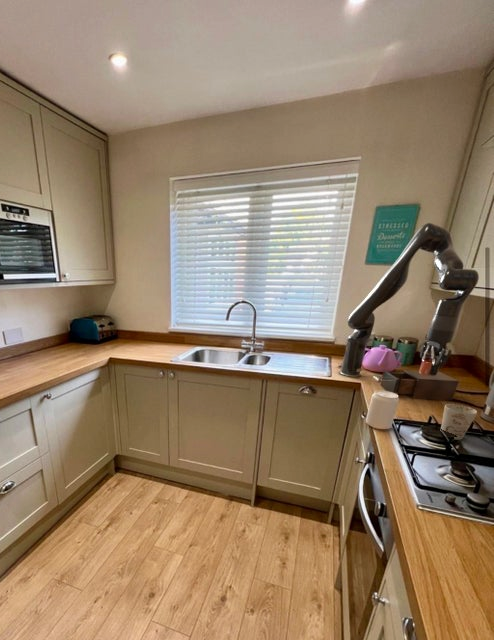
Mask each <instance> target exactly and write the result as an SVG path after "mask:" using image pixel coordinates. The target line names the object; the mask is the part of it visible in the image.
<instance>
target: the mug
mask: <svg viewBox="0 0 494 640" xmlns="http://www.w3.org/2000/svg"><path fill="white" fill-rule="evenodd" d="M477 414H478V411H477V410H476V409H475V408H473V407H470V406H467V405H462V404H457V403H446V404H445V405H444V409H443V414H442V420H441V425H440V430H441V429H442V430H444V431H446V432H449V433H452V434H454V435H456V436H457V437H454V439H453V440H456V441H457V440H459V441H461V440H462V439H463V438H464V436H465V435H466V433H467V431H468V430H469V428H470V426H471V425H472V423H473V421H474V420H475V418H476V417H477Z"/></svg>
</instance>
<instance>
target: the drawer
mask: <svg viewBox="0 0 494 640" xmlns="http://www.w3.org/2000/svg"><path fill="white" fill-rule="evenodd" d="M372 379H373V380H374V381H376V382H377V383H379V384H380V387H382V388H383V389H385V391H388V392H392V393H395V394H403V395H408V394H413V393H414V389H415V386H416V383H417V379H415V378H413V377H411V376H410V375H408V374H406V373H402V372H395V371H394V372H393V371H391V372H387V371H384V372H382V376H376V375H373V376H372Z"/></svg>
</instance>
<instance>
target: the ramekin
mask: <svg viewBox="0 0 494 640" xmlns="http://www.w3.org/2000/svg"><path fill="white" fill-rule="evenodd" d="M432 362H433V360H432V359H430V360H422V359H421V363H420V366H419V369H418V371H419V373H420V374H423V375H428V376H436V375H437V374H436V375H430V374H429V372H430V369H431V366H432ZM436 362H437V360H436Z"/></svg>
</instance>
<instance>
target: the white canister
mask: <svg viewBox="0 0 494 640" xmlns="http://www.w3.org/2000/svg"><path fill="white" fill-rule="evenodd" d="M399 402H400V399H399V395H398V393H392V392H389V391H387V390H375V391H374V393H372V394H371V398H370V402H369V406H368V410H367V414H366V418H365V423H366V424H367V425H368V426H370V427H371V428H374V429H378V430H389V429H391V428H392V426H393V423H394V419H395V416H396V412H397V409H398V405H399Z"/></svg>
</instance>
